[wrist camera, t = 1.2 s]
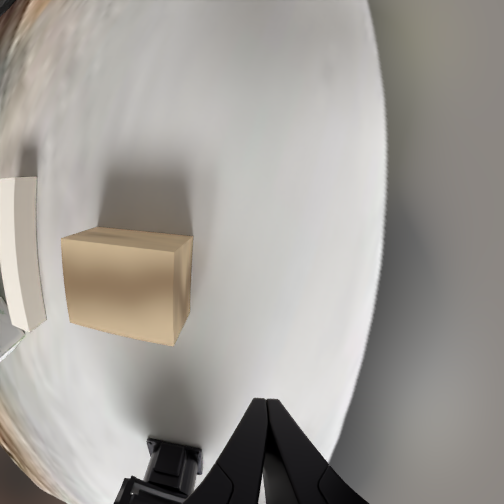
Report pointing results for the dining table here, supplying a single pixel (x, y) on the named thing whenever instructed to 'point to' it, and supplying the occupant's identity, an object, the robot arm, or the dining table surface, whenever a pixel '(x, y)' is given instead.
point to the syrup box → (8, 332)
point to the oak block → (128, 282)
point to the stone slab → (5, 5)
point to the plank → (20, 252)
